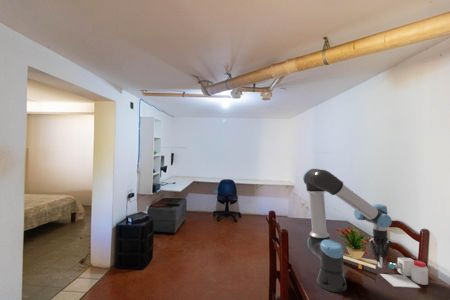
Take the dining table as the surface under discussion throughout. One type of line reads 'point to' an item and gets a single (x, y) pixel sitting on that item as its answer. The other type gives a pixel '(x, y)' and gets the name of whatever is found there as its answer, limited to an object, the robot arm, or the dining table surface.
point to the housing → (405, 266)
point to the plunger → (395, 265)
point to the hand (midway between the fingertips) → (380, 266)
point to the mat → (399, 281)
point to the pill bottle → (419, 273)
